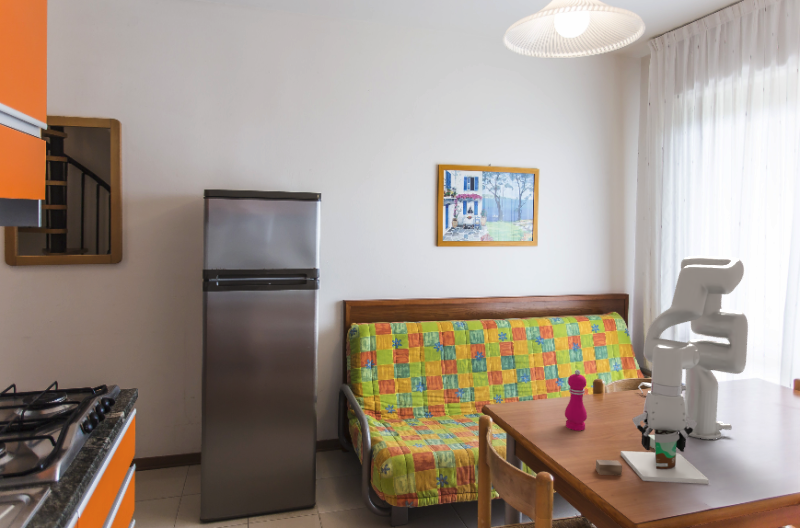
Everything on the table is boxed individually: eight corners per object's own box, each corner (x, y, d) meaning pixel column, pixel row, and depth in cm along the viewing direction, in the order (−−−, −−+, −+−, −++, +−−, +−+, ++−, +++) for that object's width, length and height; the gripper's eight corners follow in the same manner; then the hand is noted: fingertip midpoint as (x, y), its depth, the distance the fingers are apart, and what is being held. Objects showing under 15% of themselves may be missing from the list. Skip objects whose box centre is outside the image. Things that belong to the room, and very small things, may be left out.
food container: (681, 474, 135) (680, 437, 135) (656, 470, 138) (655, 434, 138) (678, 456, 146) (677, 422, 146) (655, 453, 149) (654, 420, 149)
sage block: (646, 444, 159) (646, 434, 159) (654, 443, 160) (655, 434, 160) (658, 452, 154) (658, 442, 153) (667, 451, 154) (667, 442, 154)
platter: (679, 457, 150) (679, 453, 149) (708, 483, 134) (708, 479, 134) (620, 454, 151) (620, 450, 151) (643, 480, 135) (643, 476, 135)
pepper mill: (588, 432, 168) (590, 373, 167) (565, 430, 169) (567, 371, 168) (584, 424, 175) (587, 367, 174) (563, 422, 176) (565, 366, 175)
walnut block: (617, 471, 140) (617, 460, 140) (621, 476, 137) (622, 465, 137) (595, 470, 141) (596, 459, 141) (599, 475, 138) (599, 464, 138)
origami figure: (670, 397, 208) (671, 385, 208) (665, 401, 202) (666, 389, 202) (639, 390, 216) (640, 379, 216) (633, 395, 210) (634, 383, 209)
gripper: (691, 386, 144) (687, 445, 145) (629, 384, 145) (626, 442, 146) (705, 394, 137) (701, 456, 138) (639, 392, 138) (636, 453, 139)
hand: (663, 448), depth 142 cm, fingers open, 9 cm apart
